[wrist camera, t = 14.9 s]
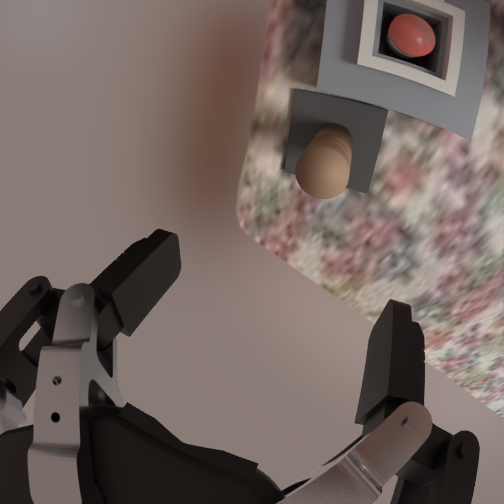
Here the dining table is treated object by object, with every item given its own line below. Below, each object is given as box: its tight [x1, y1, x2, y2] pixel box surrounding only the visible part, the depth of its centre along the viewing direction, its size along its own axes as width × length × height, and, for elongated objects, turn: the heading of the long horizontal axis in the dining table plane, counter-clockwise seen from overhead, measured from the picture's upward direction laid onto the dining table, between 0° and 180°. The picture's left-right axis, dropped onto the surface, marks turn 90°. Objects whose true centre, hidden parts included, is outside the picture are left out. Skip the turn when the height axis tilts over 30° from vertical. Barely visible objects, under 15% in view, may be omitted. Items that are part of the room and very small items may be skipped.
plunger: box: [386, 14, 435, 59], centre depth 15 cm, size 4×4×4 cm
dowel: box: [295, 123, 353, 199], centre depth 22 cm, size 4×4×10 cm
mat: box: [284, 89, 388, 193], centre depth 26 cm, size 9×9×1 cm
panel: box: [316, 0, 490, 141], centre depth 15 cm, size 14×14×6 cm
